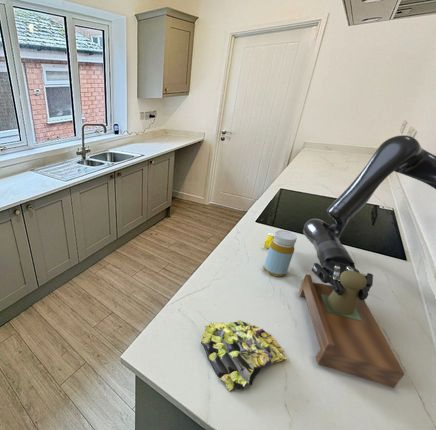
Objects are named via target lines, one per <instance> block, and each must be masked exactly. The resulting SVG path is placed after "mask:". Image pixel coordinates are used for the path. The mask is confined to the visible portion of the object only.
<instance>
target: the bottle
mask: <svg viewBox="0 0 436 430" xmlns="http://www.w3.org/2000/svg"><path fill="white" fill-rule="evenodd" d="M274 234H275V235H274V239H273V241H272V242H271V244H270V247H269V248H268V251H267V254H266V258H265V261H264V264H263V268H264V270H265V272H266V273H267V274H269V275H271V276H274V277H283V276H285V275H287V272H288V269H289V267H290V264H291V261H292V258H293V256H294V253H295V244H296V242H297V239H298V237H297V235H296V234H295V233H294V232H292V231H289V230H284V229H280V230H276V231H275V232H274Z"/></svg>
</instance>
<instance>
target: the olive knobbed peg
mask: <svg viewBox="0 0 436 430" xmlns="http://www.w3.org/2000/svg"><path fill="white" fill-rule="evenodd" d="M360 273H361V272H360ZM360 273H358V272H355V271H348V270H347V271H344V272H342V273H341V275H340V280H339V281H341V284H342V286H343V288H344V292H343V294H342V296H341V295H338V294H337V293H336V292H335V291H334V290H333V292H332V293H331V294H330V296H329V297H328V298H327V299H326V303H327V305H328V306H329V307H330V308H331V309H333V310H334V311H336V312H339V313H341V314H346V315H350V314H352V313H354V309H355V306H356V302H357V299H358V295H359V292H360V289H363V288H364V287H365V286H366V284H367V280H366V278H365V277H364V276H363V275H362V274H363V273H362V274H360Z"/></svg>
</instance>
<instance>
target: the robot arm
mask: <svg viewBox="0 0 436 430" xmlns="http://www.w3.org/2000/svg"><path fill="white" fill-rule="evenodd" d="M393 172H394V173H397V174H398V173H399V174H401V175H404V176H407V177H409V178H412V179H414V180H417V181H420V182H422V183H423V184H426V185H428V186H430V187H431V188H433V189H435V190H436V155H435V154H433V153H431V152H429V151H428V150H426V149H424V148H423V147H422V146H421V143H420V142H419V140H418V139H416V138H415V137H413V136H410V135H403V134H400V135H395V136H392V137H390V138H388V139H386V140H384V141H383V142H382V143H381V144H380V145H379V146H378V148H377V149H376V150H375V152H374V153H373V155H372V156H371V158H370V159H369V161H368V162H367V164H366V165H365V166H364V167H363V169H362V170H361V171H360V173H359V174H358V175H357V176H356V178H355V179H354V180H353V181H352V182H351V183H350V185H348V186H347V188H346V189H345V190H344V191H343V192H342V193H341V194H340V195H339V196H338V197H337V198H336V199H335V200H334V201H333V203H331V205H330V206H329V207H328V208H327V209H326V211H325V213H326V215H327V216H328V217H330V218H331V220H332V223H331V224H329V223H327V222H325V221H324V220H322V219H319V218H311V219H309V220H307V221H306V222H305V223H304V225H303V228H302V233H303V235H304V236H305V238H306V239H307V240H308V241H309V243H310V244H312V245H313V246H314V250H315V253H316V257H317V259H318V261H319V263H317V262H314V263H313V265H312V267H311V271H312V272H313V273H314V275H315V276H317V278H318V279H319V280H320V281H321V282H322V284H327V283H328V284H329V286H332V287H333V289H334V291H335V292H336V293H337V294H338V295H341V296H342V294H343V292H344V288H343V286H342V284H341V281H340V275H341V273H342V272H344V271H347V270H348V271H355V272H358V273H360V274H362V275H363V276H364V277H365V278H366V280H367V284H366V286H365V287H364V288H363V289H360V292H359V295H358V297H359V299H360V300H363V301H365V300H367V299H368V297H369V292H370V291H371V288H372V287H373V283H374V274H372V273H370V272H367V273H366V274H365V273H362V272H360V270H359V269H357V268H356V265H355V262H354V260H353V258H352V256H351V255H350V253H349V251H348V250H347V249H346V248H345V246H344V245H343V244H342V242H341V241H340V238H341V236H342V234H343V232H344V230H345V228H346V227H347V225H348V223H349V222H350V221H351V219H352V218H354V217H355V216H356V214H357V213H359V212H360V211H361V210H362V209H363V208H364V207H365V206H366V204H367V203H369V202H368V201H370V199H371V198H372V197H373V195H374V193H375V192H376V190H377V189H378V188H379V186H380V185H381V184H382V183H383V182H384V181H385V180H386V179H387V178H388V177H389V176H390V175H391V174H393Z"/></svg>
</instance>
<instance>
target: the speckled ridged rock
mask: <svg viewBox="0 0 436 430" xmlns="http://www.w3.org/2000/svg"><path fill="white" fill-rule="evenodd" d="M204 327H205V331H204V332H203V334H202V338H201V341H200V344H201V345H202V346H203V349H204V351H205V354H206V358H207V361H208V362H209V363H210V365H211V366H212V369H213V371H214V373H215V375H216V376H217V377H218V378H219V380H221V382H223V383H224V384H225V386H226V389H227V391H229V392H231V391H233V389H234V388H236V389H238V390H244V389H245V387H246V385H249V386H253V382H254V380H255V378H256V376H257V375H258V374H259V372H260V371H261V370H262V369H264V368H266V367H268V366H270V365H272V364H274V363H278V362H282V361H283V362H284V361H286V360H288V357H287V356H286V355H285V354H284V353H283V352H284V349H283V348H282V347H281V346H280V345H279V343H278V342H277V340H276V339H275V338H274V337H273V336H272V333H269V332H268V331H266V330H265V329H264V328H263V327H259V326H257V325H255V324H254V325H253V324H251V323H249V322H245V321H243V320H237V321H234V322H219V323H218V322H215V323H214V322H210V323H209V324H208V325H204Z"/></svg>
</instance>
